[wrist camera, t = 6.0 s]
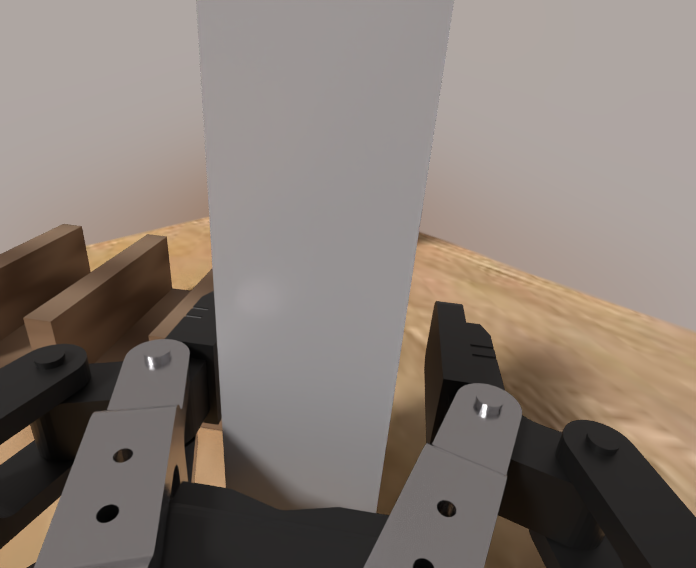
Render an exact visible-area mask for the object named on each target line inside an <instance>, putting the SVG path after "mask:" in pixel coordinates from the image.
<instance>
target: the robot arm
mask: <svg viewBox="0 0 696 568" xmlns="http://www.w3.org/2000/svg"><path fill="white" fill-rule="evenodd" d="M424 374H425V412H426V445H425V446H424V448H423V450H422V452H421V454H420V456H419V458H418V460H417V462H416V464H415V466H414V468H413V470H412V472H411V474H410V476H409V478H408V480H407V482H406V484H405V486H404V488H403V490H402V492H401V494H400V496H399V498H398V500H397V502H396V504H395V506H394V508H393V510H392V512H391V514H390V515H384V514H378V513H372V512H366V511H360V510H354V509H348V508H342V507H331V508H315V509H300V510H279V509H276V508H274V507H272V506H270V505H267V504H265V503H263V502H260V501H258V500H256V499H254V498H251V497H249V496H247V495H244V494H242V493H240V492H238V491H235V490H233V489H228V488H222V487H216V486H210V485H204V484H198V483H194V482H195V471H196V459H197V447H198V437H197V432H198V430H199V428H200V426H201V425H202V423H209V424H215V425H218V424H219V423H220V421H221V419H222V414H221V397H220V381H219V364H218V348H217V332H216V315H215V299H214V291H212V292H210V293H208V294H206V295H204V296H202V297H201V298H200V299H199V300H198V301H197V303H196V304H195V305H194V306H193V308H191V309H190V311H189V312H188V313H187V314H186V317H185V316H184V317H183V318H182V320H181V321H180V322H179V323H178V324H177V325H176V326H175V327H174V329H173V330H172V331H171V332H170V333H169V334H168V335H167V337H166V338H165V339H158V340H152V341H148V342H145V343H142V344H140V345H138V346H136V347H134V348H133V349H131V350H130V351H129V352H128V353H127V354H126V356H125V358H124V361H120V362H107V363H91V364H89V362H88V358H87V353H86V351H85V350H84V349H83V348H82V347H80V346H77V345H73V344H55V345H49V346H45V347H41V348H38V349H36V350H33V351H31V352H29V353H27V354H25V355H24V356H22V357H20V358H18V359H16V360H14V361H13V362H11V363H9V364H7V365H5V366H4V367H2V368H0V445H1V444H2V443H4V442H5V441H7V440H8V439H9V438H11V437H12V436H14V435H15V434H17V433H18V432H20V431H21V430H23V429H24V428H25V427H27V426H28V425H30V426H31V429H32V433H33V436H34V439H35V440H34V441H33V442H31V443H30V444H29V445H27V446H26V447H25V448H23V449H22V450H20V451H19V452H18V453H16V454H15V455H14V456H12V457H11V458H9V459H8V460H7V461H5V462H4V463H3V464H1V465H0V549H1V548H2V547H3V546H4V545H6V544H7V543H8V542H9V541H10V540H11V539H12V538H14V537H15V536H16V535H17V534H18V533H19V532H20V531H22V530H23V529H24V528H25V527H26V526H27V525H28V524H29V523H31V522H32V521H33V520H34V519H35V518H36V517H37V516H39V515H40V514H41V513H42V512H43V511H44V510H45V509H46V508H48V507H49V506H50V505H51V504H52V503H53V502H54V501H56V500H57V499H58V498H59V497H60V496H61V497H60V500H59V503H58V505H57V508H56V511H55V513H54V516H53V519H52V521H51V524H50V527H49V529H48V532H47V535H46V537H45V540H44V543H43V545H42V548H41V551H40V553H39V556H38V559H37V561H36V562H35V563H34V564H32V565H30V566H29V567H27V568H484V565H485V561H486V558H487V554H488V550H489V546H490V542H491V538H492V534H493V530H494V527H495V523H496V519H497V515H499V516H502V517H504V518H506V519H508V520H510V521H513V522H515V523H517V524H519V525H521V526H524V527H526V528H528V529H529V532H530V535H531V538H532V540H533V542H534V544H535V546H536V548H537V550H538V552H539V554H540V556H541V558H542V560H543V562H544V564H545V566H546V568H696V517H695V516H694V515H693V514H692V512H691V511H690V510H689V509H688V508H687V507H686V505H685V504H684V503H683V502H682V501H681V500H680V498H679V497H678V496H677V495H676V494H675V493H674V491H673V490H672V489H671V488H670V487H669V486H668V484H667V483H666V482H665V481H664V480H663V479H662V477H661V476H660V475H659V474H658V473H657V472H656V470H655V469H654V468H653V467H652V466H651V465H650V463H649V462H648V461H647V460H646V459H645V458H644V456H643V455H642V454H641V453H640V452H639V451H638V449H637V448H636V447H635V446H634V445H633V444H632V443H631V442H630V441H629V440H628V439H627V438H626V437H625V436H624V435H622V434H621V433H619V432H618V431H616V430H614V429H613V428H611V427H609V426H606V425H604V424H601V423H598V422H594V421H589V420H576V421H572V422H570V423H568V424H567V425H566V426H565V428H564V430H563V432H559V431H556V430H553V429H551V428H548V427H545V426H543V425H540V424H538V423H535V422H533V421H531V420H529V419H527V418H526V417H524V416H523V415H522V409H521V406H520V404H519V403H518V401H517V400H516V399H515V398H514V397H513V396H512V395H510V394H509V393H508V392H506V391H505V389H504V385H503V381H502V378H501V374H500V370H499V366H498V363H497V360H496V355H495V351H494V350H493V344H492V340H491V336H490V335H489V334H488V332H487V331H486V330H485V329H484V328H483V327H482V326H481V325H480V324H474V323H466V319H465V314H464V308H463V305H462V304H455V303H447V302H439V301H436V302H435V305H434V310H433V315H432V321H431V326H430V332H429V337H428V342H427V348H426V355H425V367H424Z"/></svg>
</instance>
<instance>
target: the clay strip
mask: <svg viewBox="0 0 696 568" xmlns="http://www.w3.org/2000/svg"><path fill="white" fill-rule="evenodd" d="M196 4H197V21H198V37H199V54H200V70H201V86H202V103H203V117H204V134H205V151H206V166H207V167H206V168H207V184H208V199H209V217H210V234H211V250H212V266H213V283H214V299H215V315H216V332H217V348H218V364H219V381H220V397H221V414H222V430H223V446H224V463H225V479H226V488H228V489H233V490H235V491H238V492H240V493H242V494H244V495H247V496H249V497H251V498H254V499H256V500H258V501H260V502H263V503H265V504H267V505H270V506H272V507H274V508H276V509H279V510H300V509H315V508H331V507H342V508H348V509H354V510H360V511H366V512H372V513H376V510H377V503H378V497H379V490H380V484H381V477H382V470H383V464H384V457H385V451H386V444H387V438H388V431H389V424H390V418H391V411H392V405H393V398H394V392H395V385H396V378H397V372H398V365H399V359H400V352H401V346H402V339H403V332H404V326H405V319H406V313H407V306H408V300H409V293H410V286H411V280H412V273H413V267H414V260H415V254H416V247H417V240H418V234H419V227H420V221H421V214H422V207H423V200H424V194H425V188H426V181H427V174H428V168H429V162H430V155H431V148H432V142H433V135H434V128H435V121H436V116H437V108H438V102H439V96H440V89H441V83H442V76H443V69H444V63H445V56H446V50H447V43H448V37H449V30H450V23H451V17H452V10H453V4H454V0H196Z"/></svg>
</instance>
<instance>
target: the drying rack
mask: <svg viewBox="0 0 696 568" xmlns="http://www.w3.org/2000/svg"><path fill="white" fill-rule="evenodd" d="M212 291H214V283H213V268H212V269H211V270H210V271H209V272H208V273H207V275H206V276H205V277H204V278H203V279H202V280H201V281H200V282H199V283H198V284H197V285H196V286H195V287H194V288H193V289H192V290H191V291H188V290H180V289H173V288H172V282H171V273H170V263H169V254H168V244H167V237H165V236H157V235H149V234H147V235H146V236H144V237H143V238H141V239H140V240H138V241H137V242H135V243H134V244H132V245H131V246H129V247H128V248H126V249H125V250H123V251H122V252H120V253H119V254H118V255H116V256H115V257H113V258H112V259H110V260H109V261H107V262H106V263H104V264H103V265H101V266H100V267H98V268H97V269H95V270H94V271H92V272H90V267H89V262H88V256H87V251H86V246H85V241H84V235H83V230H82V226H76V225H68V224H62V225H60V226H58V227H56V228H54V229H52V230H50V231H48V232H46V233H43V234H41V235H39V236H37V237H35V238H33V239H31V240H29V241H27V242H25V243H23V244H21V245H19V246H17V247H14V248H12V249H10V250H8V251H6V252H4V253H2V254H0V368H2V367H4V366H5V365H7V364H9V363H11V362H13V361H14V360H16V359H18V358H20V357H22V356H24V355H25V354H27V353H29V352H31V351H33V350H36V349H38V348H41V347H45V346H49V345H55V344H73V345H77V346H80V347H82V348H83V349H84V350H85V351H86V353H87V358H88V362H89V364H91V363H107V362H120V361H124V358H125V356H126V354H127V353H128V352H129V351H130V350H131V349H133V348H134V347H136V346H138V345H140V344H142V343H145V342H148V341H152V340H158V339H165V338H166V337H167V335H168V334H169V333H170V332H171V331H172V330H173V329H174V327H175V326H176V325H177V324H178V323H179V322H180V321H181V320H182V318H183V317H184V316H185V317H186V314H187V313H188V312H189V311H190V309H191V308H193V306H194V305H195V304H196V303H197V301H198V300H199V299H200V298H201V297H202V296H204V295H206V294H208V293H210V292H212ZM200 427H204V428H210V429H216V430H222V419H221V421H220V423H219V424H218V425H215V424H209V423H202V425H201V426H200Z"/></svg>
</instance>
